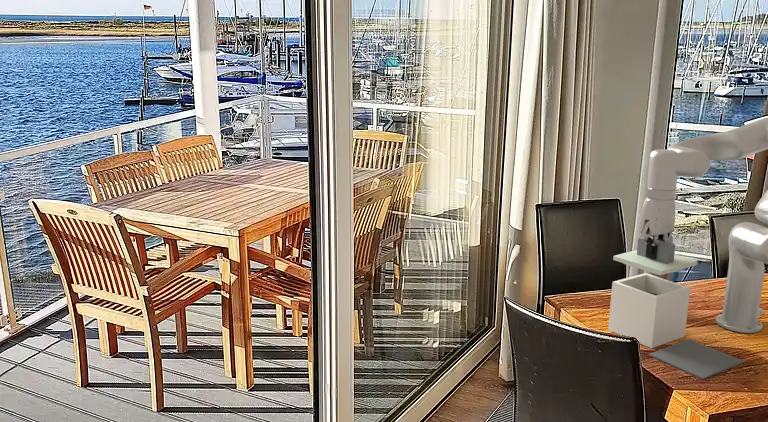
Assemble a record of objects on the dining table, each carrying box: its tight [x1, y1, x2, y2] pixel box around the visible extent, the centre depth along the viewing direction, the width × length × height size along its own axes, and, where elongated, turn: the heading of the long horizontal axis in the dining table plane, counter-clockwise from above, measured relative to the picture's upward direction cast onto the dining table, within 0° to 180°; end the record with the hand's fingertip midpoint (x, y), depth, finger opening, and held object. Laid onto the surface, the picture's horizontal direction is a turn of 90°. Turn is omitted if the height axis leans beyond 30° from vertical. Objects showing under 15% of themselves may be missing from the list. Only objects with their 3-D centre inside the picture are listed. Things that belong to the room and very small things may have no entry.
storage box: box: [607, 272, 691, 349], centre depth 199 cm, size 15×15×15 cm
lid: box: [612, 237, 698, 275], centre depth 195 cm, size 16×16×7 cm
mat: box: [648, 338, 744, 380], centre depth 185 cm, size 18×16×1 cm
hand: (655, 256), depth 196 cm, fingers closed on lid, 3 cm apart
